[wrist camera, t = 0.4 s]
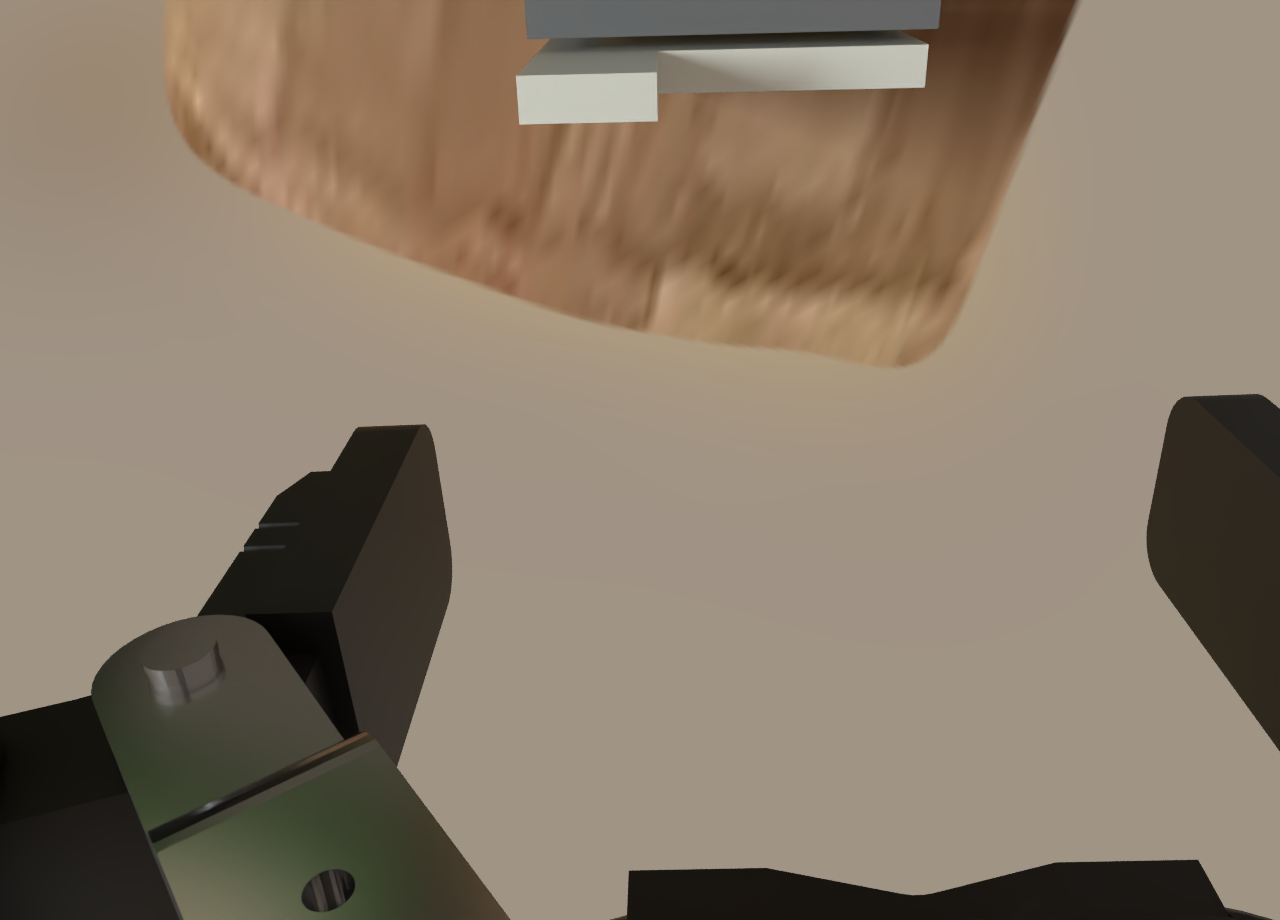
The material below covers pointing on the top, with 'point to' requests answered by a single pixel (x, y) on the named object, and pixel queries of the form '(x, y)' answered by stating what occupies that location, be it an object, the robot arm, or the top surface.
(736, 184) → the top surface
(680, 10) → the camera housing
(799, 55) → the side door
